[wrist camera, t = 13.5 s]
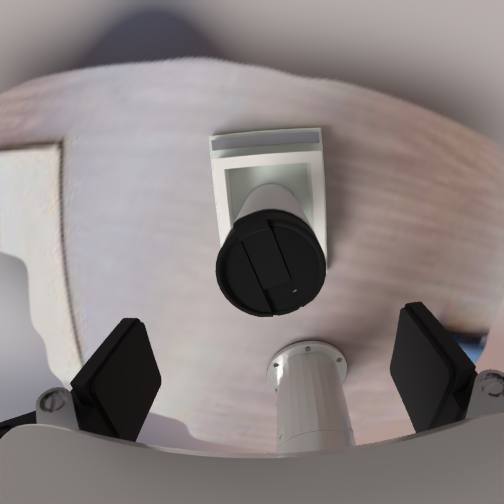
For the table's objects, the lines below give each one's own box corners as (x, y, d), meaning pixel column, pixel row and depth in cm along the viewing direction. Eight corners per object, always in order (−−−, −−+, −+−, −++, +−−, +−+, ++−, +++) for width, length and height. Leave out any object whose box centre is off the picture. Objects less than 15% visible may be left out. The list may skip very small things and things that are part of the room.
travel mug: (286, 172, 33) (306, 195, 14) (305, 224, 35) (342, 307, 16) (235, 191, 34) (191, 238, 15) (256, 242, 36) (239, 339, 17)
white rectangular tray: (325, 270, 38) (332, 285, 33) (226, 277, 39) (221, 292, 34) (319, 128, 32) (326, 124, 28) (210, 136, 33) (201, 134, 29)
